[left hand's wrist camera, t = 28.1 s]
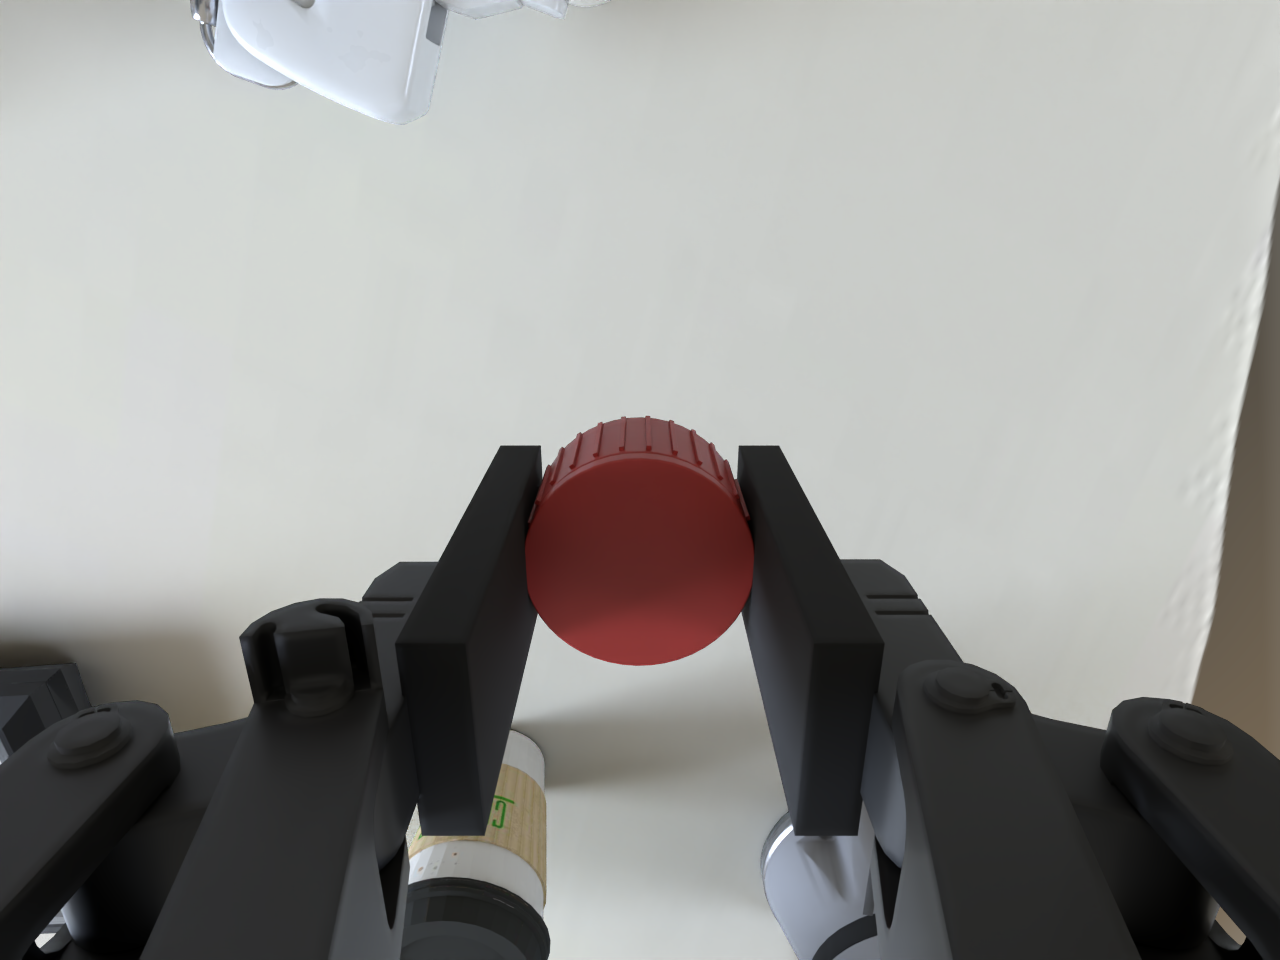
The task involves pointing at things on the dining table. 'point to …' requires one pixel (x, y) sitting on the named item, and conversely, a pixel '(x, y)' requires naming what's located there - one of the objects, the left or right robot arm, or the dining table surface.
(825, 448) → the dining table surface
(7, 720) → the electronic device
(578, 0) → the bottle
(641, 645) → the cap
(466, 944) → the coffee cup
